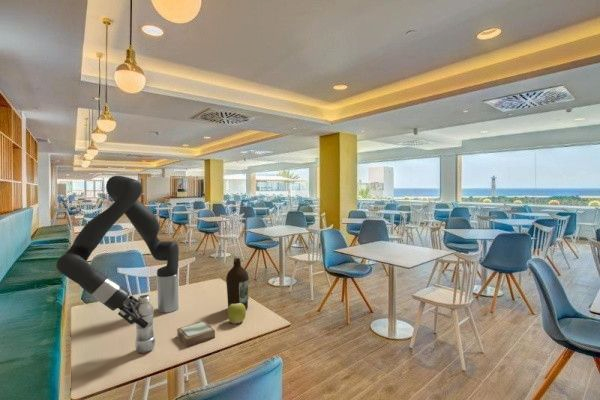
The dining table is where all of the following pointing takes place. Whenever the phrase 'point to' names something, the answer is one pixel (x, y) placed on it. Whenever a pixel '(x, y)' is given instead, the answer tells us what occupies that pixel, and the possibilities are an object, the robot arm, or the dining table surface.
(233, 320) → the apple
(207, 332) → the walnut base
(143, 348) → the plastic bottle
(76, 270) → the robot arm
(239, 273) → the olive oil
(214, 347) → the dining table surface
